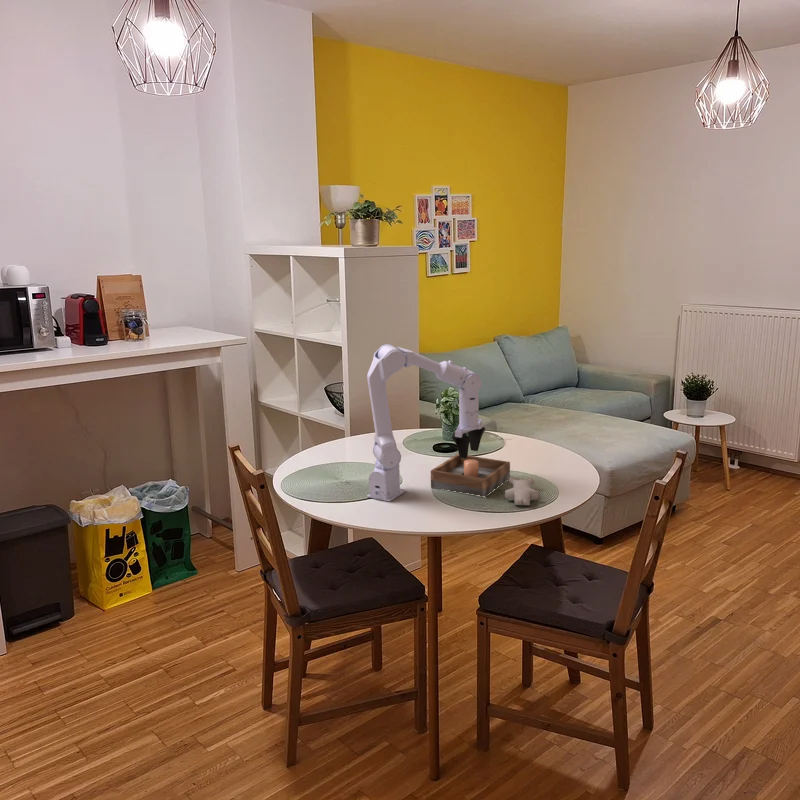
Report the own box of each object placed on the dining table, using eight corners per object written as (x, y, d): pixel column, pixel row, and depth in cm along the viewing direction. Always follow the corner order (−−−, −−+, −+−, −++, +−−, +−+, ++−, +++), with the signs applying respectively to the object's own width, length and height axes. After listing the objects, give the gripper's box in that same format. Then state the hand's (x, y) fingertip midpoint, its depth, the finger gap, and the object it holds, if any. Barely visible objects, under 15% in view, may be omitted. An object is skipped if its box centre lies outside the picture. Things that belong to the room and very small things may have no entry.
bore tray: (485, 498, 211) (485, 480, 210) (430, 487, 220) (430, 470, 219) (509, 478, 226) (510, 461, 225) (457, 470, 235) (457, 453, 234)
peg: (474, 486, 220) (474, 464, 219) (461, 484, 222) (461, 462, 221) (480, 482, 224) (480, 460, 222) (467, 480, 226) (467, 458, 224)
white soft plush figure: (505, 494, 203) (504, 470, 217) (505, 510, 205) (504, 486, 219) (539, 495, 202) (537, 471, 216) (539, 511, 204) (536, 486, 217)
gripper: (470, 418, 210) (470, 462, 213) (491, 406, 222) (491, 449, 225) (448, 415, 213) (448, 459, 217) (470, 404, 225) (470, 446, 229)
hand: (468, 454), depth 221 cm, fingers open, 7 cm apart
